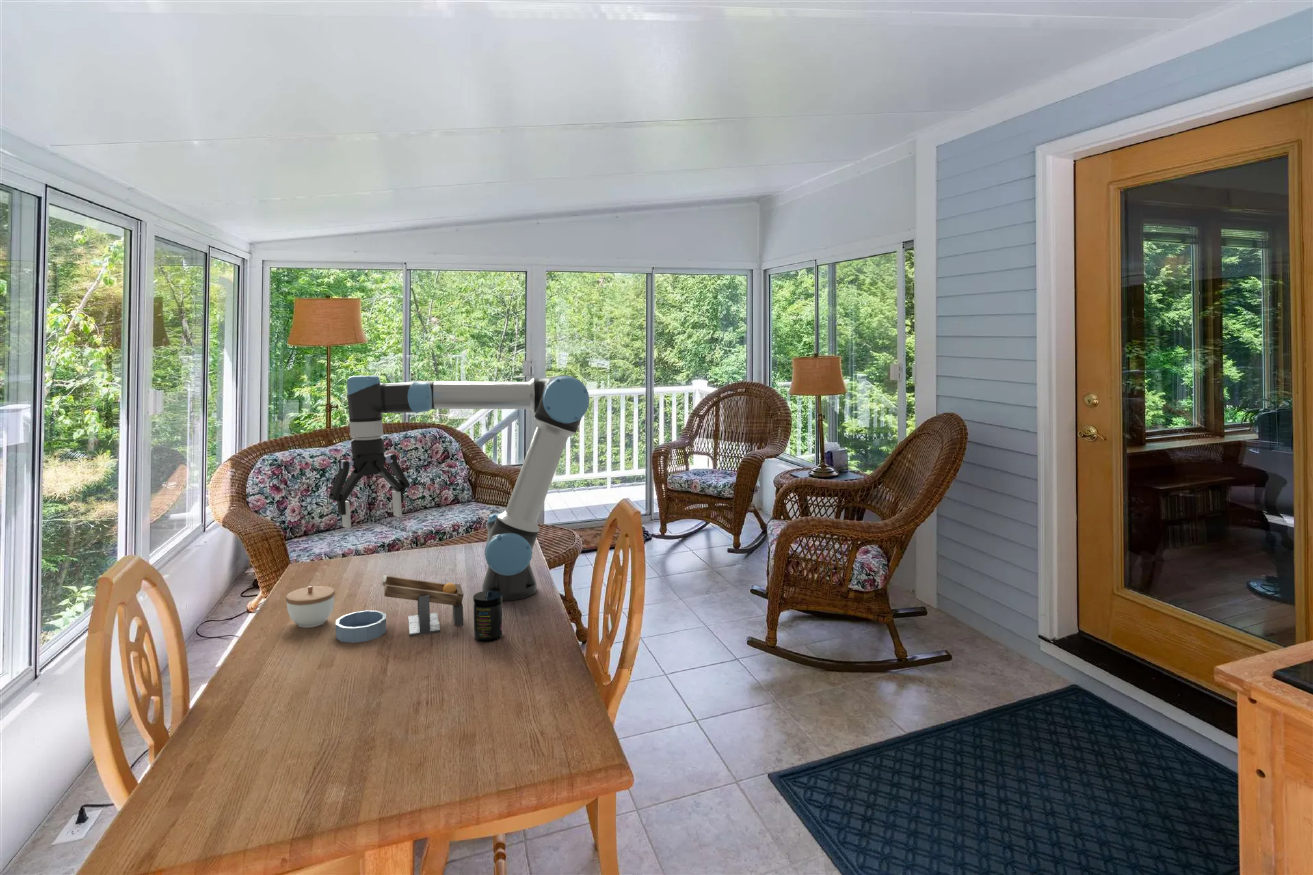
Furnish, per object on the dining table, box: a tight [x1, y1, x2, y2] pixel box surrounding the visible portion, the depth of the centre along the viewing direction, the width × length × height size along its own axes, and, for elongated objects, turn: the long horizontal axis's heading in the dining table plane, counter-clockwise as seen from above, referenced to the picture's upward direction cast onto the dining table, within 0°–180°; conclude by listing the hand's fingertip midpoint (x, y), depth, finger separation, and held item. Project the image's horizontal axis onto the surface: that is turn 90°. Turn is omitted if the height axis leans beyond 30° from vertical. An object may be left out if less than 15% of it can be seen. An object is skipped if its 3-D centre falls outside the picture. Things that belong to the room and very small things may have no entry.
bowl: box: [334, 609, 387, 644], centre depth 160 cm, size 11×11×4 cm
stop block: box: [452, 602, 464, 626], centre depth 168 cm, size 2×6×5 cm, turn 22°
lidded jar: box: [285, 585, 335, 629], centre depth 166 cm, size 11×11×9 cm
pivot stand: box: [407, 595, 441, 637], centre depth 165 cm, size 7×12×9 cm, turn 22°
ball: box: [443, 582, 456, 594], centre depth 167 cm, size 3×3×3 cm
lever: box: [382, 574, 465, 606], centre depth 167 cm, size 18×14×3 cm
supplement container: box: [472, 590, 504, 643], centre depth 158 cm, size 7×7×10 cm
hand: (373, 521), depth 167 cm, fingers open, 13 cm apart
